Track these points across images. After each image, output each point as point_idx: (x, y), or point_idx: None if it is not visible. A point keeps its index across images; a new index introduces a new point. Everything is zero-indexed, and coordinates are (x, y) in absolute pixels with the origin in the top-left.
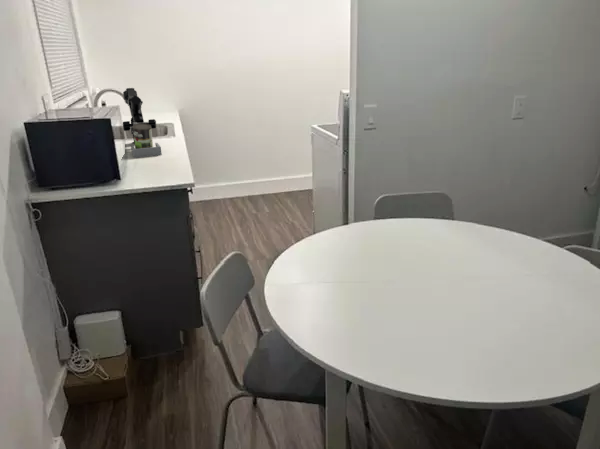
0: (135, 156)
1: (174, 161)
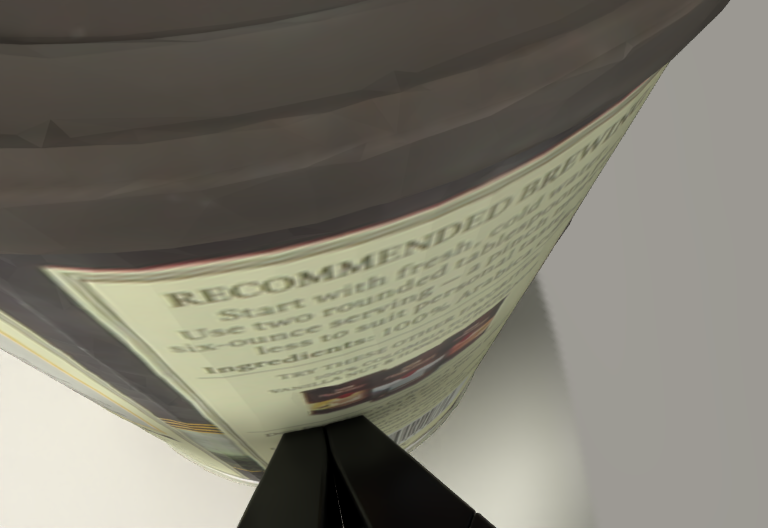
0: None
1: None
